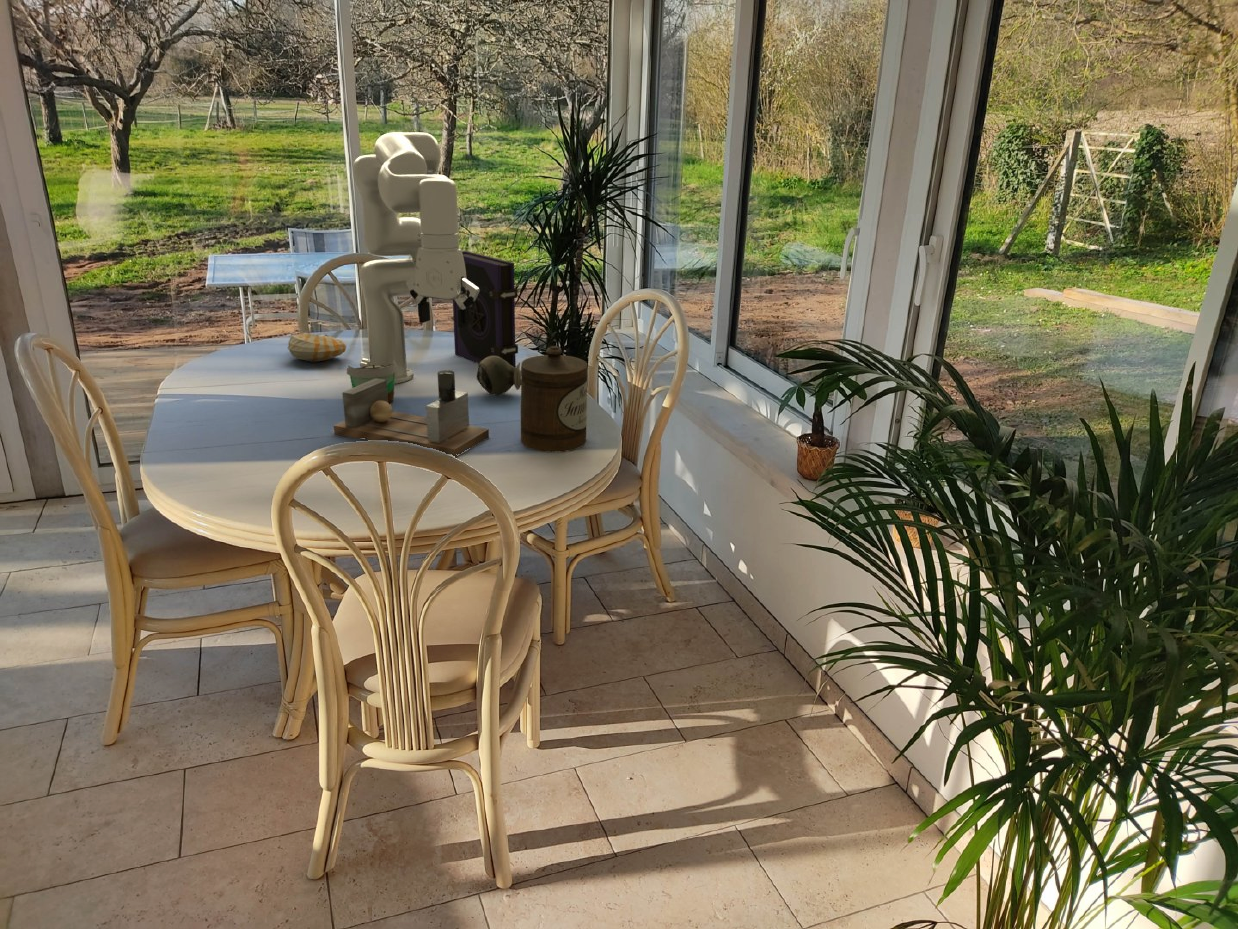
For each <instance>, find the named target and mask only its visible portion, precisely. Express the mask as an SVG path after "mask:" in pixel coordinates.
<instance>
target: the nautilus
mask: <svg viewBox="0 0 1238 929" xmlns="http://www.w3.org/2000/svg"><path fill="white" fill-rule="evenodd" d="M290 334H291V336H290V337H289V340H288V345H287V346H288V347H287V350H288V351H289V353H290V354H291V355H292V356H293V357H294V358H296V359H297V360H302V361H303V360H304V361H306V362H316V363H317V362H323V361H326V360H331V359H333V358H335V357H338V356H341V355H343V353H345V352H346V350H347V344H346V343H345V342H344V341H343V340H341V339H339V338H336V337H333V336H330V335H328V334H311V333H309V332H301V333H300V332H298V333H296V332H295V331H294V332H293V331H292V333H291V332H290Z"/></svg>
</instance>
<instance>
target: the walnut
mask: <svg viewBox="0 0 1238 929" xmlns="http://www.w3.org/2000/svg"><path fill="white" fill-rule="evenodd" d="M392 411H393V407H392V404H389V403H387V402H386V401H376V402H375V403H373V404H372V406H371V408H370V415H371V417H372V418H373V419H374V420H375V421H377V422H386V421H388V420H389V419H390V418H391V416H392Z"/></svg>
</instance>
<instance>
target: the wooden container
mask: <svg viewBox="0 0 1238 929" xmlns="http://www.w3.org/2000/svg"><path fill="white" fill-rule="evenodd" d="M562 352H563V351H562V348H561V347H559V346H558V345H551V346H550V347H548V348H546V350H545V353H546V354H544V355H543V354H542V355H535V356H531V357H528V358H525V359H524V360H522V362H521V363H520V371H521V386H520V441H521V444H522V445H523V446H525V447H527V448H529V449H531V450H535V451H539V452H545V453H547V452H548V453H563V452H568V451H569V452H571V451H573V450H576V449H579V448H581V447H583V446H584V445H585V444H586V442H587V423H588V422H587V421H588V420H587V418H588V417H587V416H588V363H587V362H586V361H585V360H584V359H582V358H579V357H576V356H571V355H562Z"/></svg>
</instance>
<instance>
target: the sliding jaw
mask: <svg viewBox="0 0 1238 929" xmlns="http://www.w3.org/2000/svg"><path fill="white" fill-rule="evenodd" d="M455 378H456V376H455V371H453V370H449V369H446V370H440V371H437V385H438V386H437V387H438V388H437V389H438V399H437V400H435V401H433V402H431V403H429V404H426V406H425V415H426V417H425V418H427V436H428V441H431V442H436V443H441V442H442V441H444V440H446V439H448V438H449V437H451V436H453V435H455V434H456V433H458V432H460V431H461V430H463V429H465V428H467V427H468V426H470V419H469V418H470V416H469V411H470V410H469V392H466V391H460V390H456V379H455Z"/></svg>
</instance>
